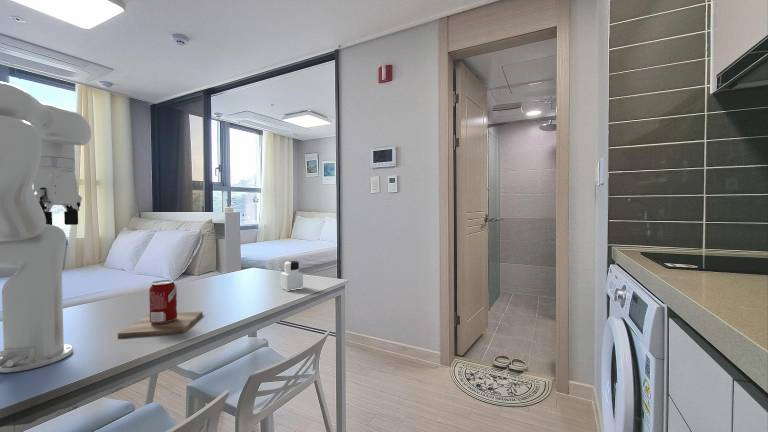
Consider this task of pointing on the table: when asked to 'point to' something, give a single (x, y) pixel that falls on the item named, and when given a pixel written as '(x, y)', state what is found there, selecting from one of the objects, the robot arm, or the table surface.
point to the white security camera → (291, 276)
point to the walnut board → (161, 326)
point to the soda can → (163, 301)
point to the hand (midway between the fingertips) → (58, 225)
